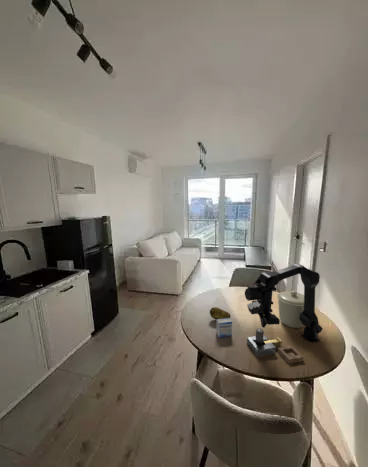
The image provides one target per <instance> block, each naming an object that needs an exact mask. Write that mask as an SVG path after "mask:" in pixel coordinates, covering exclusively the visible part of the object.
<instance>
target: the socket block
mask: <svg viewBox="0 0 368 467" xmlns="http://www.w3.org/2000/svg"><path fill="white" fill-rule="evenodd" d="M268 340H269V339H268V337H267V336H266V335H265V334H263V341H268ZM255 343H256V335H255V336H248V337H246V344H247V345H248V347H249V348H250V350H251V351H252V352H253V354H254V355H255V356H256V357H257V358H258V357H264V356H270V355H274V354H276V350H277V347H275V346H274V345H273V344H272V343H266V344H265V345H263V346H257V345H256V344H255Z"/></svg>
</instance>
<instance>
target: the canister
mask: <svg viewBox="0 0 368 467" xmlns="http://www.w3.org/2000/svg"><path fill="white" fill-rule="evenodd" d="M276 296H277V299H278V303H277V304H278V314H279V317H278V318H279V320H280V323H282V324H283V325H285V326H287V327H290V328H293V329H299V328H301V327H303V326H304V325H302V322H301V321H300V319H299V318H300V315H299V314H300V313H302V312H303V311H304V294H302V293H300V292H297V291H296V290H291V291H287V290H286V291H282V292H279V293H277V294H276Z"/></svg>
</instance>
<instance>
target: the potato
mask: <svg viewBox="0 0 368 467" xmlns="http://www.w3.org/2000/svg"><path fill="white" fill-rule="evenodd" d="M209 315H210V317H211V318H212V319H213V320H215V321H216V320H217V319H225V318H230V319H231V317H232V316H231V314H230V313H229V311H227V310H224V309H222V308H219V307H215V306H214V307H211V308H210V309H209Z"/></svg>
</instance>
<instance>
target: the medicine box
mask: <svg viewBox="0 0 368 467" xmlns="http://www.w3.org/2000/svg"><path fill="white" fill-rule="evenodd" d="M215 322H216V323H215V324H216V327H215V329H216V330H215V333H216V335H217V337H218V338H224V337H230V336H232V334H233V321H232V320H231V317H230V318H225V319H217V320H216V319H215Z"/></svg>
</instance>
